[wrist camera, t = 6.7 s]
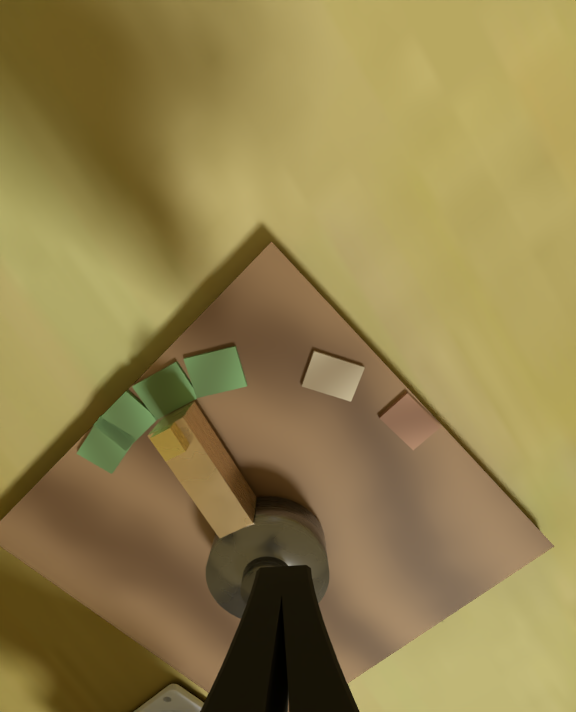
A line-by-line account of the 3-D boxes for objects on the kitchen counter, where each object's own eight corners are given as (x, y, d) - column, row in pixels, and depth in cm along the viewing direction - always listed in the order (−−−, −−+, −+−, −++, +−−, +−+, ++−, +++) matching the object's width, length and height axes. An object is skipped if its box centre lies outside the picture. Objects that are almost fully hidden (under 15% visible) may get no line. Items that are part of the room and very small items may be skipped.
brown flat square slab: (269, 715, 23) (268, 739, 22) (-1, 522, 19) (-19, 538, 18) (541, 532, 20) (557, 549, 18) (271, 242, 16) (270, 240, 14)
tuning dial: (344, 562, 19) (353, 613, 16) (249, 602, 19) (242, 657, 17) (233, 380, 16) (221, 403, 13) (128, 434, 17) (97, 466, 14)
